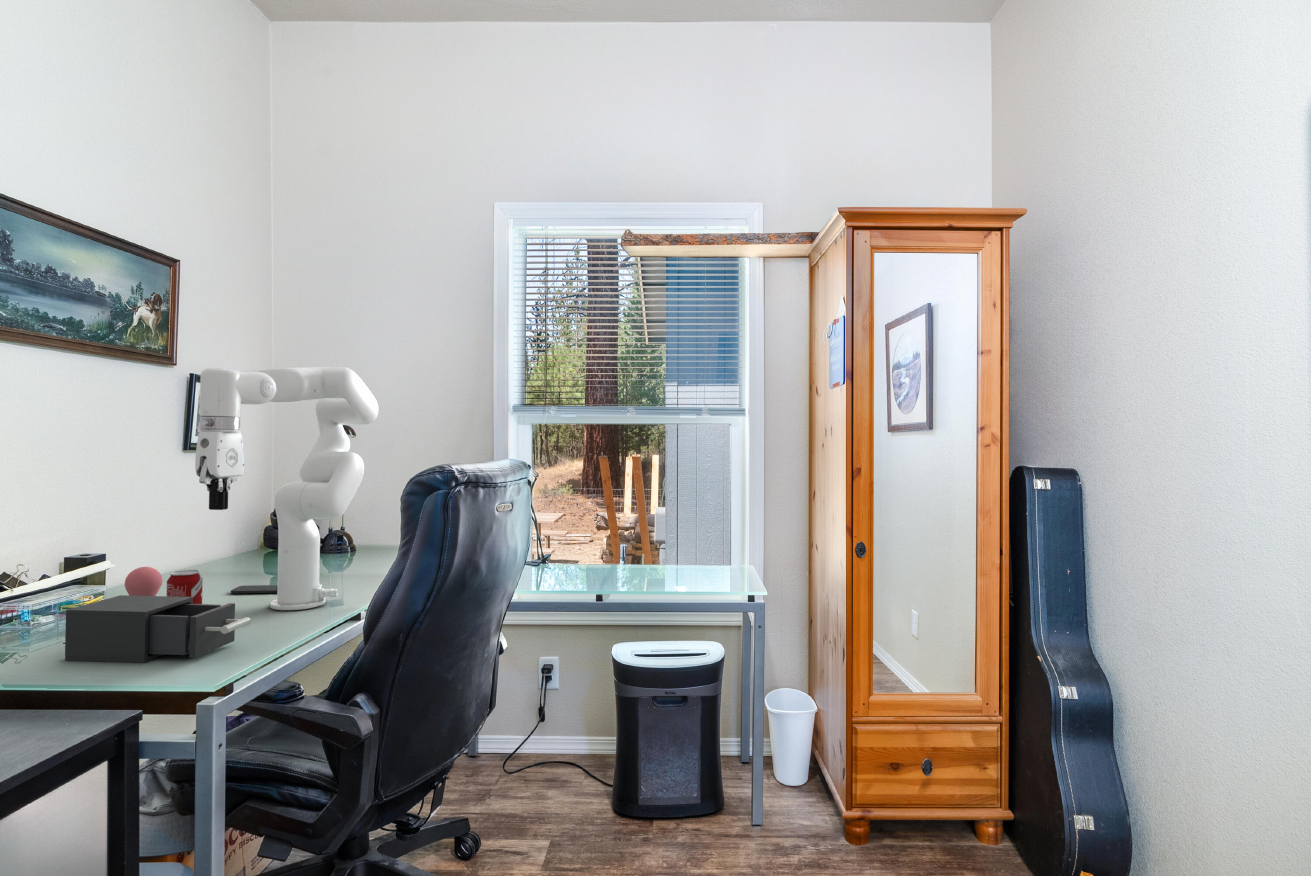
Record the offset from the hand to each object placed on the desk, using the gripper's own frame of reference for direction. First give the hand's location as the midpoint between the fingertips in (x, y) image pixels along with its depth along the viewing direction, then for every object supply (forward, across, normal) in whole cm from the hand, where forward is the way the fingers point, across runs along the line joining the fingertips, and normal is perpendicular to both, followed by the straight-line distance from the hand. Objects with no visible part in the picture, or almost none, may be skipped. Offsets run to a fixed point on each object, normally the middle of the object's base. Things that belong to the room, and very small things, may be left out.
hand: (218, 509), depth 149 cm
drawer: (+26, -14, -5) cm, 30 cm away
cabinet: (+27, -14, +8) cm, 31 cm away
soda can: (+27, +6, +12) cm, 30 cm away
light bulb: (+27, +11, +25) cm, 39 cm away
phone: (+27, +41, +15) cm, 52 cm away
